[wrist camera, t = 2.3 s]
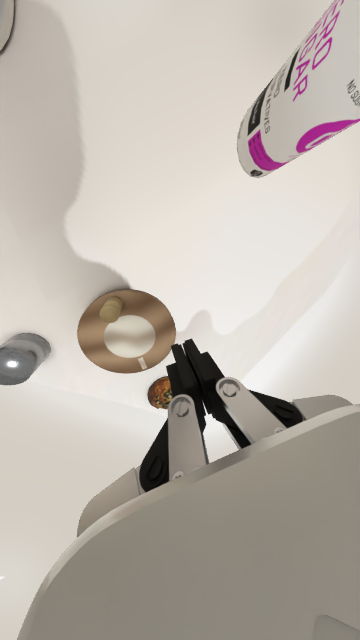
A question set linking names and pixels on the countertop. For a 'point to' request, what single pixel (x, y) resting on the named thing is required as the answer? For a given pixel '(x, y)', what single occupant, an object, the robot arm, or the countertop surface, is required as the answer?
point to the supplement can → (306, 95)
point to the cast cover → (21, 357)
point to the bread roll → (160, 393)
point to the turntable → (126, 331)
